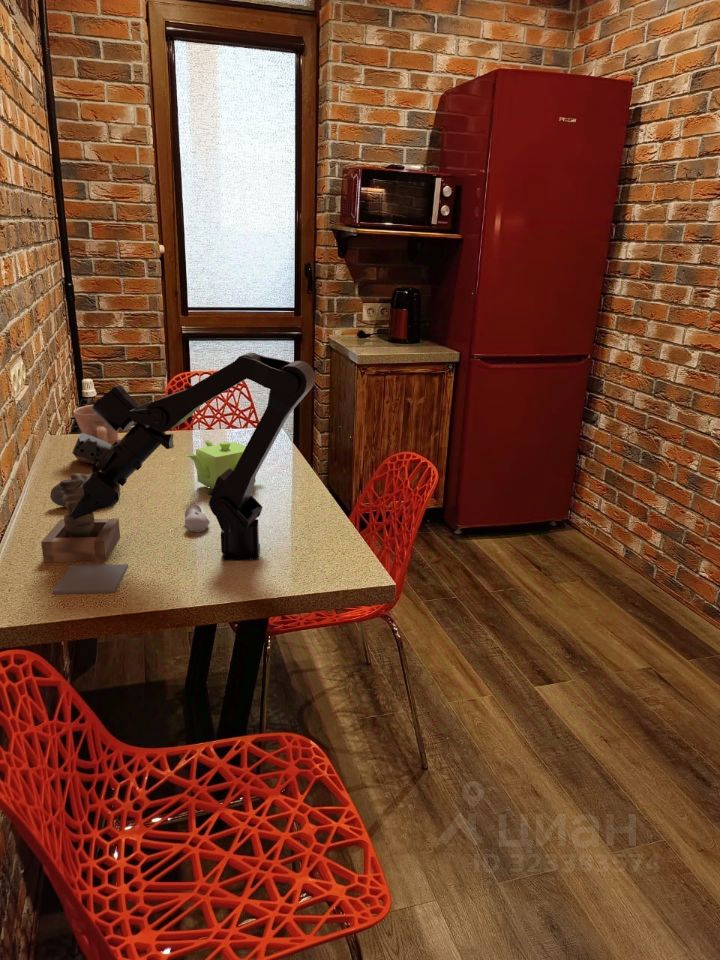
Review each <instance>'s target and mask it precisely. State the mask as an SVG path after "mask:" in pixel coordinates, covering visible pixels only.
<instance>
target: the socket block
mask: <svg viewBox="0 0 720 960" xmlns="http://www.w3.org/2000/svg"><path fill="white" fill-rule="evenodd" d="M119 519H120V518H94V528H93V530H92V531H91V533H90V534H89V537H77V538H73V537H72V536H71V535H70V534H69V533H68V532H67V531H66V529H65V523H64V518H62V519H59V520H58V522H57V523H56V524H55V525H54V526H53V527H52V528H51V530H50V531H49V532H48V533H47V534H46V536H44V538H43V539H42V540H41V541H40V544H41V550H42V551H41V552H42V558H43V563H63V562H64V563H66V562H67V563H72V562H73V563H74V562H77V563H78V562H81V563H82V562H107V560H108V558H109V557H110V555H111V553H112V552H113V550H114V548H115V547H116V545H117V544H118V542H119V540H120V539H121V532H120V530H121V529H120V521H119Z"/></svg>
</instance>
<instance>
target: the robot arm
mask: <svg viewBox="0 0 720 960" xmlns="http://www.w3.org/2000/svg"><path fill="white" fill-rule="evenodd" d="M245 380H250V381H252V382H253V383H256V384H257V385H260V386H262V387H263V388H265V389H270V390H269V392H268V393H269V394H268V400H267V405H266V409H265V410H264V413H263V414H262V416H261V418H260V419H259V421H258V424H257V426H256V427H255V429H254V431H253V433H252V435H251V436H250V438H249V440H248V442H247V444H246V448H245V450H244V452H243V453H242V455H241V457H240V459H239V461H238V463H237V465H236V467H235V468H234V470H232V469H230V468H228V469H227V470H226V471H225V472H223V473H222V474H221V475H220V476H219V477H218V478H217V480H216V483H215V486H214V489H211V491H210V492H208V494H207V495H208V497H209V496H210V498H209V501H208V507H209V510H210V511H211V512H212V514H213V516H215V518H216V520H217V522H218V525H219V527H220V529H221V531H220V549H221V550H220V551H221V553H222V554H223V556H222V557H223V561H231V560H233V561H234V560H237V561H238V560H239V561H240V560H244V561H245V560H258V559H259V557H260V549H261V544H260V542H259V541H260V539H259V538H260V537H259V536H260V535H259V519H257V518H258V517H260V516H261V513H262V511H263V505H261V503H260V502H259V501H258V500H256V499H255V497H254V496H253V491H254V488H255V483H256V478H257V477H256V476H257V474H258V472H259V470H260V468H261V467H262V465H263V463H264V462H265V459H266V458H267V456H268V453H270V450H271V448H272V447H273V445H274V443H275V441H276V439H277V438H278V435H279V433H280V432H281V431H282V429H283V427H284V424H285V423H286V421H287V420H288V417H289V416H290V414H291V413H292V412H293V411H294V409H295V408H296V407H297V406H298V405H299V403H301V401H302V400H303V399H304V398H305V397H306V396H307V394H309V392H310V391H311V389H312V388H313V387H314V385H315V383H316V374H315V370H314V369H313V368H312V366H311V365H310V364H309V363H307V362H306V361H302V360H295V361H292V362H290V361H288V360H283V359H279V358H274V357H269V356H264V355H261V354H257V353H256V352H248V353H247V352H246V353H245V354H242V355H239V356H238V357H237V358H236V359H235V360H234V361H233V362H231V363H229V364H227V365H225V366H224V367H223V368H221V369H219V370H217V371H216V372H213V373H212V374H211V375H209V376H207V377H206V378H203V379H201V380H200V381H198V382H197V383H195V384H194V385H192V386H189V387H188V388H185V389H181V390H179V391H177V392H173V393H171V394H168V395H165V396H163V397H160V398H158V399H156V400H154V401H152V402H151V401H150V402H145V403H143V404H141V405H140V404H139V403H138V402H137V401H136V400H135V398H133V397H132V396H131V395H130V394H129V393H128V392H127V390H126V389H125V388H124V387H123V386H122V385H121V384H118V385H114V386H113V387H112V388H111V389H110V390H109V391H108V392H106V393H105V394H103V395H102V396H101V397H100V398H98V399H96V401H95V403H93V404H92V405H93V407H92V410H93V411H94V412H95V413H96V414H97V415H98V416H99V417H101V418H102V419H103V420H104V421H105V422H106V423H107V424H108V425H109V426H110V427H111V428H112V429H113V430H114V431H118V430H119V431H120V430H121V431H122V432H126V431H127V430H129V429H130V430H129V431H128V432H127V433H126V434H125V435H124V436H123V437H122V439H121V440H118V441H117V440H116V441H115V442H114V443H113V444H110V443H107V442H105V441H103V440H101V439H98V438H96V437H93V436H90V435H88V434H85V433H82V432H81V433H80V434H79V436H78V437H77V440H76V443H75V445H74V447H73V449H74V450H72V452H71V453H72V454H73V455H74V457H75V456H77V457H83V458H86V459H89V460H91V461H93V463H91V471H92V472H91V473H89V474H90V475H89V476H88V477H87V479H86V480H85V481H84V483H83V485H82V488H83V491H84V495H83V496H82V498H81V499H80V501H79V502H78V504H77V505H76V507H75V508H74V510H73V511H72V513H71V515H70V516H71V517H72V518H74V519H76V518H79V517H82V516H84V515H87V514H89V513H92V512H93V513H94V512H97V511H100V510H103V509H105V508H108V509H109V508H113V507H114V506H115V505H116V504H117V502H119V501H120V497H121V495H122V494H121V487H124V485H125V484H127V481H128V479H129V478H130V476H131V475H133V473H135V472H136V471H139V470H140V469H141V468H142V466H143V464H144V462H145V461H146V460H147V459H148V458H149V457H150V456H151V455H152V454H153V453H154V452H155V451H156V450H157V449H158V448H159V447H160V446H162V447H163V448H164V449H166V450H170V449H173V448H174V437H175V435H174V433H166V432H168V431H170V430H172V429H174V428H176V427H177V426H179V425H181V424H183V423H184V422H185V421H187V420H188V419H189V418H190V417H191V416H192V415H193V414H194V413H195V412H197V410H198V409H199V408H201V407H202V406H203V405H204V404H205V403H207V402H209V401H211V400H213V399H215V398H216V397H217V396H220V395H221V394H222V393H223V394H224V392H227V391H228V390H230V389H231V388H233V387H235V386H237V385H238V384H240V383H242V382H244V381H245ZM133 425H134V426H133ZM132 426H133V427H132ZM119 431H118V432H119ZM117 483H119V484H120V486H121V487H119V486H118V485H117Z"/></svg>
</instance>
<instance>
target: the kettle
mask: <svg viewBox="0 0 720 960" xmlns="http://www.w3.org/2000/svg"><path fill="white" fill-rule="evenodd" d="M204 443H205V445H206V446H204V447H198V448H196V449H195V453H191V454H185V456H186V457H188V458H190V459H191V460H192V461H193V463H194V466H195V469H196V474H197V475H196V476H197V477H196V478H197V482H198V483H199V484H202V485H204V486H205V487H206V486H207V487H210V488H209V489H211V490H213V489H214V486H215V483H216V480H217V478H218V477H219V476H220V475H221V474H222V473H223V472H225V471H226V470H227V469H228V468H230V469H232V470H234V468H235V467H236V465H237V463H238V461H239V459H240V457H241V455H242V453H243V452H244V450H245V448H246V446H247V445H246V446H245V445H243V444H241V443H238V442H236V441H232V442H231V441H230V442H229V441H221V442H219V444H215V445H214V444H213V443H212V441H211V440H209V439H204ZM207 487H206V488H207Z"/></svg>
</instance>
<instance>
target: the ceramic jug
mask: <svg viewBox="0 0 720 960" xmlns="http://www.w3.org/2000/svg"><path fill="white" fill-rule="evenodd" d="M93 405H94V404H89V405H84V406H83V405H82V406H80V407H78V408H74V409H73V415H74V418H75V421H76V423H77V425H78V427H79V429H80V431H81V433H85V434H88V435H90V436H93V437H96V438H98V439H101V440H103V441H105V442H107V443H110V444H113V443H114V442H115V441H116V440H117V441H118V440H121V439H122V438H123V437H121V436H120V435H119V434H118V433H119V431H120V429H119V430H118V431H114V430H113V429H112V428H111V427H110V426H109V425H108V424H107V423H106V422H105V421H104V420H103V419H102V418H101V417H99V416H98V415H97V414H96V413H95V412H94V411H93V410H92V407H93ZM73 450H74V448H73ZM73 450H72V451H73ZM74 457H75V458H76V459H77V460H79V461H81V462H83V463H85V464H92V463H93V461H91V460H89V459H86V458H83V457H77V456H75V455H74Z"/></svg>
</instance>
